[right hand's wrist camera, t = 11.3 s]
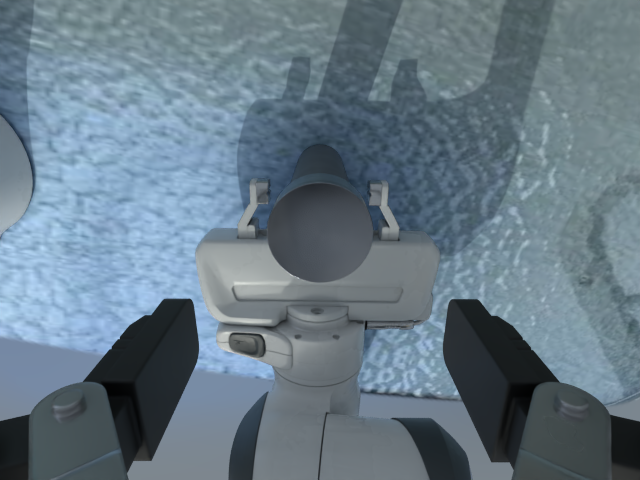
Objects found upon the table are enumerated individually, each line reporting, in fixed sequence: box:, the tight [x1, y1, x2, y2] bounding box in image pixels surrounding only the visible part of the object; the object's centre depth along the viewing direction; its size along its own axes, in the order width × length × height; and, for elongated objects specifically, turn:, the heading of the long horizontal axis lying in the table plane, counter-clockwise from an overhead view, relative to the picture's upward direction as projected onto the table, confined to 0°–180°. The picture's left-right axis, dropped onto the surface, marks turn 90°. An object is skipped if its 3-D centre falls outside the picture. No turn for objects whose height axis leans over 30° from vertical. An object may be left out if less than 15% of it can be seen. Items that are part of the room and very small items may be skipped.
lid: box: [267, 173, 373, 283], centre depth 20 cm, size 5×5×2 cm
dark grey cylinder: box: [291, 145, 349, 182], centre depth 28 cm, size 4×4×19 cm
